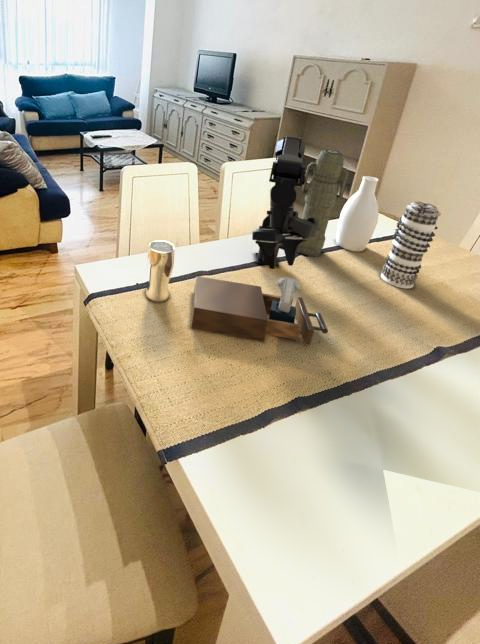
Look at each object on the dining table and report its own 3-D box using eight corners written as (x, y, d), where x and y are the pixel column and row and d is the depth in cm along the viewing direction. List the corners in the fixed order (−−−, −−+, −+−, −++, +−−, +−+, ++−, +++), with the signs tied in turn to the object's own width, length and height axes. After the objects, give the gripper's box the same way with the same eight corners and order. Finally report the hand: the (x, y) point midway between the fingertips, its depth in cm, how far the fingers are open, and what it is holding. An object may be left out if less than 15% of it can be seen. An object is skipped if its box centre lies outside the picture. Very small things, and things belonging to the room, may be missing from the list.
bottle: (375, 254, 131) (398, 184, 122) (342, 252, 131) (363, 183, 122) (356, 238, 142) (377, 173, 132) (326, 237, 142) (345, 171, 132)
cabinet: (256, 305, 102) (260, 286, 100) (263, 341, 90) (268, 320, 87) (193, 294, 105) (196, 275, 103) (191, 328, 93) (194, 307, 90)
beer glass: (173, 291, 106) (179, 243, 100) (165, 305, 100) (170, 255, 94) (149, 284, 109) (154, 237, 103) (140, 297, 103) (144, 248, 97)
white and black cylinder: (383, 268, 123) (408, 196, 114) (418, 281, 117) (447, 206, 108) (375, 279, 117) (401, 203, 108) (411, 293, 111) (442, 214, 102)
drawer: (316, 314, 98) (320, 300, 97) (329, 349, 87) (334, 333, 86) (236, 300, 102) (239, 287, 101) (240, 332, 91) (243, 317, 89)
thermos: (327, 259, 126) (357, 157, 114) (289, 251, 130) (313, 151, 117) (324, 247, 134) (351, 150, 121) (288, 240, 138) (311, 145, 125)
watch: (294, 313, 97) (303, 275, 93) (292, 332, 90) (302, 293, 86) (270, 305, 99) (279, 269, 95) (267, 324, 92) (276, 286, 88)
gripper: (294, 207, 88) (294, 276, 88) (330, 207, 100) (329, 268, 99) (251, 206, 97) (250, 269, 96) (288, 206, 108) (288, 262, 108)
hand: (281, 267), depth 100 cm, fingers open, 9 cm apart
